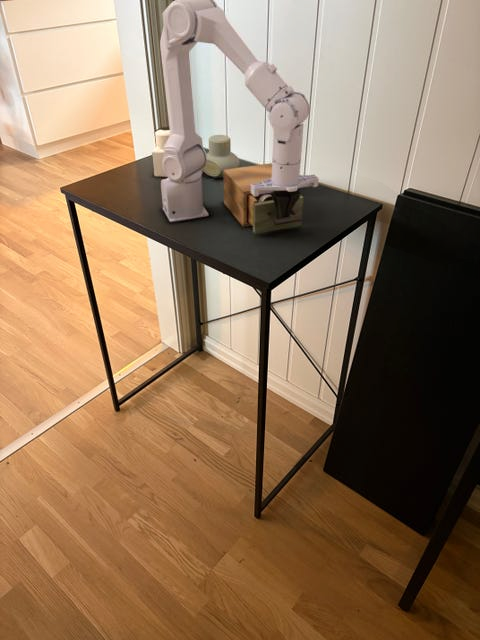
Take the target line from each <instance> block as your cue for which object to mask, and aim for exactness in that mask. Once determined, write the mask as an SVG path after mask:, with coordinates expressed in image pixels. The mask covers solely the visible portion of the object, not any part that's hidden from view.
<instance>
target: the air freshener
mask: <svg viewBox="0 0 480 640" xmlns="http://www.w3.org/2000/svg"><path fill="white" fill-rule="evenodd" d="M231 144H232V143H231V137H230V136H229V135H225V134H213V135H211V136H209V138H208V152H206V154H207V163H206V165H205V166H204V167H203V168H202V172H204V173H205V174H206V175H208V176H210V177H212V178H214V179H221V178H223V170H226V169H233V168H240V167H241V161H240V159H239V157H238V156H237V155H236V154H235V153H233V152H232V149H231V146H232V145H231Z"/></svg>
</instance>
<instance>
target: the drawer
mask: <svg viewBox="0 0 480 640" xmlns="http://www.w3.org/2000/svg"><path fill="white" fill-rule="evenodd" d="M265 194H269V195H271V194H270V193H265ZM265 194H259V196H255V197H254V196H253V195H252V194H247V220H248V221H249V222H250V224H251V225H252V226H251V227H252V233H254V234H255V235H256V234H263V233H267V232H273V231H278V230H284V229H291V228H295V227H301V226H302V221H303V209H304V197H303V195H300V198H299V199H298V201H297V202H296V203H295V205H294V207H293V209H292V211H291V214H290V216H287V217H281V218H278V215H277V210H276V207H275V204H274V201H273V199H272V197H268V198H266V199H265V200H264V202H260V201H259V202H258V200H259V199H260V197H261V196H262V195H265ZM257 202H258V203H257Z"/></svg>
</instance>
